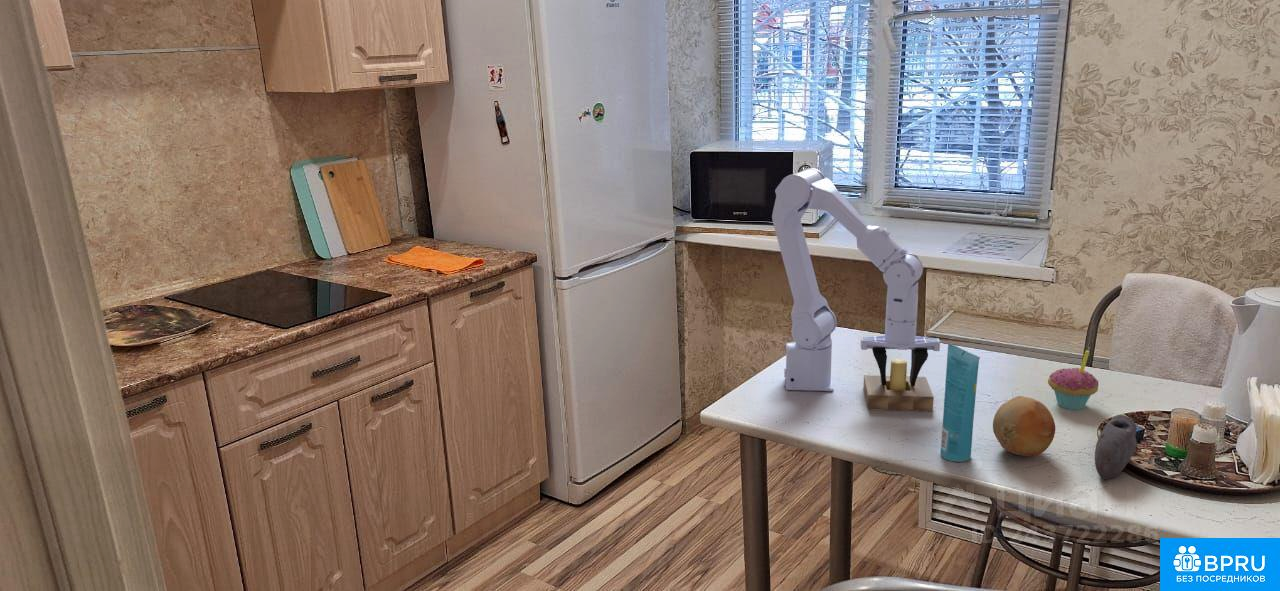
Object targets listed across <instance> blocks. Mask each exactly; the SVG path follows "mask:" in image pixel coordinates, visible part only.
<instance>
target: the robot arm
mask: <svg viewBox="0 0 1280 591" xmlns="http://www.w3.org/2000/svg"><path fill="white" fill-rule="evenodd" d="M774 192H775V200H774V205H773V209H772V215H771V219H772V224H773V227H774V232H775V235H776V239H777V243H778V247H779V249H780V253H781V257H782V261H783V266H784V269H785V272H786V276H787V279H788V284H789V288H790V291H791V294H792V299H793V306H792V310H791V312H790V317H791V320H792V325H791V330H790V332H791V337H792V339H793V342H791V341H790V342H786V344H785V346H786V350H785V351H786V353H785V356H786V357H785V360H786V361H785V368H784V370H783V371H784V378H785V390H786V391H814V392H818V391H819V392H833V391H834V381H833V380H834V379H833V375H832V354H833V353H832V351H833V350H832V348H833V346H832V345H833V340H832V337H831V336H832V334H833V332H834V331H835V330H836V328H837V325H838V324H837V317H836V315H835V313H834V311H832V310H831V308H830V306H829V304H828V300H827V299H826V298H825V297H824V296H823V295H822V294H821V292H820V289H819V285H818V282H817V278H816V273H815V270H814V266H813V262H812V259H811V254H810V251H809V247H808V242H807V240H806V236H805V232H804V228H803V225H802V218H803V216H804V215H805V213H806V212H807V211H808V209H810V210H819V211H826V213H828V214H829V215H830V216H831V217H833V218H834V220H836V221H837V222H838V223H839V224H840V225H842V226H843V227H844V229H846V230H847V231H848V232H849V233H850V234H852V236H854V237H855V239H856V246H857V247H856V248H857V249H858V251H860V252H861V253H862V254H863V255H864V257H866V258H867V259H868V260H869V261H870V262H871V263H872V264H873V265H874V266H875V267H876V268H877V269H878V270H879V271H880V272H882V278H883V281H884V284H885V285H887V288H886V289H887V291H886V292H887V293H886V301H885V302H886V303H885V305H886V306H885V308H886V309H885V320H884V322H885V325H884V334H882V335H874V336H861V337H860V349H861V350H862V351H864V350H865V351H866V350H868V349H870V350H872V353H873V357H874V359H875V361H876V364H877V366H878V369H879V374H880V375H879V376H881V384H882V385H886V376H887V375H886V374H887V373H886V372H887V371H886V369H887V361H888V355H887V350H900V351H901V350H902V351H904V350H905V351H908V350H911V351H910V352H911V355H910V357H911V359H910V360H911V361H910V363H911V364H910V365H911V366H910V373H909V374H910V375H909V376H910V384H911V386H915V382H916V379H917V377H919V374H920V371H921V370H922V367H923V366H924V364H925V363H926V361H927V360H928V359H929V358H928V357H929V352H928V350H929V351H933V352H940V348H941V341H940V338H933V337H924V336H919V335H918V336H917V324H918V323H917V321H918V308H919V307H918V304H919V282H918V281H919V279H920V278H921V277H922V275H923V272H924V265H923V262H922V261H921V259H920V258H919V256H918V255H917V254H915V253H913V252H909V250H908V249H907V248H905V247H904V248H902V247H901V246H900V245H899V244H898V243H897V242H896V240H894V239H893V238H892V237H891V236H890V234H891V231H890V230H888V229H887V228H886V227H885V228H884V229H883V228H882V227H881V226H880V225H870V224H869V223H868V222H867V221H866V220H865V219H864V217H862V215H861V214H860V213H859V212H858V211H857V210H856V209H855V207H854V206H852V204H851V203H850V202H849V201H848V200H847V199H846V198H845V197H844V195H842V193H841V192H840V191H839V190H838V189H837V187H836V186H835V184H834V183H833V181H832V180H831V179H830V178H828V177H826V176H825V175H824V173H823V172H821V171H820V169H817V168H813V167H807V168H805V169H803V170H801V171H799V172H797V173H794V174H789V175H787V176H785V177H783V179H781V182H780V183H779V184H778V185H777V186H776V188H775V190H774Z"/></svg>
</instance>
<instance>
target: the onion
mask: <svg viewBox="0 0 1280 591" xmlns="http://www.w3.org/2000/svg"><path fill="white" fill-rule="evenodd" d="M992 420H993V421H992V431H993V433H994V436H995V438H996V440H997V441H998V443H999V444H1000V446H1001V447H1002V448H1003V449H1004V450H1006V451H1007V452H1009V453H1012V454H1016V455H1019V456H1026V457H1035V456H1038V455H1040V454H1043V453H1044V452H1045V451H1047V449H1048V448H1049V447H1050V446H1051V444H1052V442H1053V440H1054V438H1055V434H1056V423H1055V420H1054V417H1053V415H1052V413H1051V411H1050V410H1049V408H1048V407H1047V406H1046V405H1045V404H1044V403H1042V402H1041V401H1039V400H1037V399H1035V398H1032V397H1029V396H1023V395H1022V396H1021V395H1018V396H1015V397H1013V398H1011V399H1009V400H1007V401H1006V402H1004V403H1003V404H1001V405H1000V406H999V407H998V409H997V410H996V412H995V414H994V417H993V419H992Z"/></svg>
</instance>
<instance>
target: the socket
mask: <svg viewBox="0 0 1280 591" xmlns="http://www.w3.org/2000/svg"><path fill="white" fill-rule="evenodd" d="M862 389H863V394H864V398H865V403H867V404H866V408H867V410H870V409H882V410H881V411H903V410H915V411H914V412H933V411H934V401H935V400H934V398H935V397H934V395H933V391H932V389H931V387H930V384H929V382H928V379H927V377H926V376H917V379H916V382H915V386H911V384H910V375H909V376H907V375H906V391H905V390H890V375H886V385H882V384H881V375H869V374H868V375H865V374H864V375H863V388H862ZM916 410H917V411H916ZM918 410H919V411H918Z"/></svg>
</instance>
